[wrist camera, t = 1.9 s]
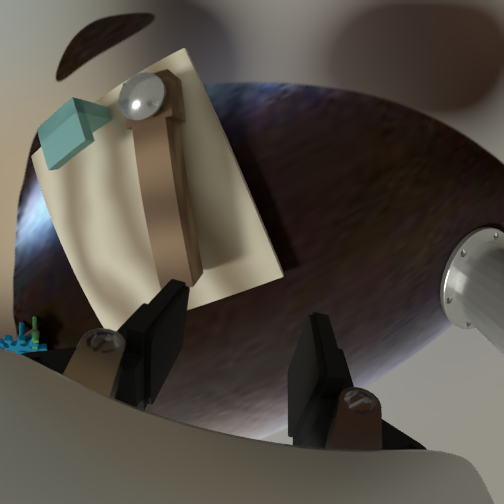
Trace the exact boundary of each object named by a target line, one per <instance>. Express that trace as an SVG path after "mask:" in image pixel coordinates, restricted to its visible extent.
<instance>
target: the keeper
mask: <svg viewBox="0 0 504 504" xmlns="http://www.w3.org/2000/svg"><path fill="white" fill-rule="evenodd" d="M110 120H112V119H111V116H110V113H109V110H108V107H105V106H102V105H99V104H95V103H92V102H88V101H84V100H81V99H77V98H71V99H70V100H69V101H68V102H67V103H65V104H64V105H63V106H62V107H61V108H60V109H58V110H57V111H56V112H55V113H54V114H53V115H52V116H51V117H50V118H48V119H47V120H46V121H45V122H44V123H43V124H42V125H41V126H40V127H39V128H38V129H37V131H38V135H39V139H40V143H41V147H42V150H43V154H44V157H45V161H46V164H47V168H48V170H58V169H59V168H60V167H62V166H63V165H64V164H65V163H67V162H68V161H69V160H70V159H72V158H73V157H74V156H76V155H77V154H78V153H79V152H81V151H82V150H83V149H85V148H86V147H87V146H89V145H90V144H91V143H93V142H94V141H95V140H94V137H93V134H92V133H93V132H95V131H96V130H98V129H99V128H100V127H102V126H103V125H105V124H106V123H108V122H109V121H110Z"/></svg>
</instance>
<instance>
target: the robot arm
mask: <svg viewBox="0 0 504 504" xmlns="http://www.w3.org/2000/svg"><path fill="white" fill-rule="evenodd" d="M189 292H190V287H188V286H186V282H183V281H179V280H175V279H171V280H170V281H169V282H168V283H167V284H166V285H165V286H164V287H163V288H162V289H161V291H160V292H159V293H158V294H157V295H156V296H155V297H154V298H153V299H152V300H151V301H150V302H149V303H148V304H146V303H143V304H142V305H141V306H140V307H139V308H138V309H137V310H136V311H135V312H134V313H133V314H132V315H131V316H130V317H129V318H128V319H127V321H126V322H125V323H124V324H123V325H122V326H121V327H120V328H119V329H118V330H117V331H114V330H111V329H104V328H101V329H94V330H91V331H89V332H87V333H86V334H85V335H84V336H83V337H82V339H81V341H80V343H79V345H78V346H77V347H75V348H66V349H57V350H47V351H36V352H28V353H24V354H22V355H21V354H18V353H15V352H12V351H10V350H6V349H2V348H0V504H494V503H493V500H492V498H491V496H490V493H489V491H488V490H487V487H486V485H485V483H484V482H483V479H482V478H481V476H480V474H479V473H478V471H477V470H476V468H475V467H474V466H473V465H472V464H471V462H469V461H468V460H467V459H465V458H462V457H460V456H457V455H453V454H450V453H446V452H441V451H433V450H427V449H426V448H425V447H424V446H423V445H421V444H420V443H419V442H417V441H415V440H413V439H412V438H411V437H409V436H407V435H406V434H404V433H403V432H401V431H400V430H398V429H397V428H395V427H393V426H392V425H390V424H389V423H387V422H386V421H384V420H383V419H382V413H381V404H380V401H379V400H378V398H377V397H376V396H375V395H374V394H373V393H371V392H369V391H368V390H365V389H362V388H358V387H354V386H353V382H352V379H351V376H350V372H349V369H348V366H347V362H346V359H345V356H344V353H343V350H342V349H338V346H337V343H336V339H335V336H334V333H333V329H332V326H331V323H330V320H329V316H328V315H326V314H321V313H316V312H314V313H313V315H308V316H307V318H306V321H305V324H304V327H303V330H302V333H301V336H300V339H299V342H298V344H297V347H296V350H295V353H294V355H293V358H292V361H291V364H290V366H289V370H288V436H289V437H293V445H288V444H281V443H274V442H268V441H261V440H256V439H250V438H245V437H240V436H235V435H230V434H226V433H221V432H217V431H213V430H209V429H205V428H201V427H197V426H193V425H190V424H186V423H183V422H179V421H176V420H173V419H170V418H166V417H163V416H160V415H157V414H154V413H151V412H148V411H145V408H146V406H147V404H148V403H149V404H153V403H154V401H155V399H156V397H157V395H158V393H159V391H160V389H161V387H162V385H163V383H164V381H165V380H166V378H167V376H168V374H169V372H170V370H171V368H172V366H173V364H174V362H175V360H176V358H177V357H178V355H179V353H180V351H181V348H182V345H183V339H184V330H185V322H186V314H187V307H188V299H189ZM440 297H441V305H442V309H443V311H444V313H445V315H446V317H447V318H448V319H449V320H450V321H451V322H452V323H453V324H454V325H455V326H457V327H460V328H463V329H470V328H475V327H476V328H477V329H478V330H479V331H480V332H481V333H482V334H483V335H484V336H485V337H486V338H487V339H488V340H489V341H490V342H491V343H492V344H493V345H494V346H495V347H496V348H497V349H498V350H499V351H500V352H501V353H502V354H503V355H504V233H503V232H502V231H500V230H498V229H495V228H492V227H482V228H478V229H476V230H474V231H472V232H470V233H469V234H468V235H467V236H465V237H464V238H463V239H462V240H461V241H460V243H459V244H458V245H457V246H456V248H455V249H454V251H453V252H452V254H451V256H450V258H449V260H448V262H447V264H446V267H445V270H444V273H443V277H442V281H441V290H440Z"/></svg>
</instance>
